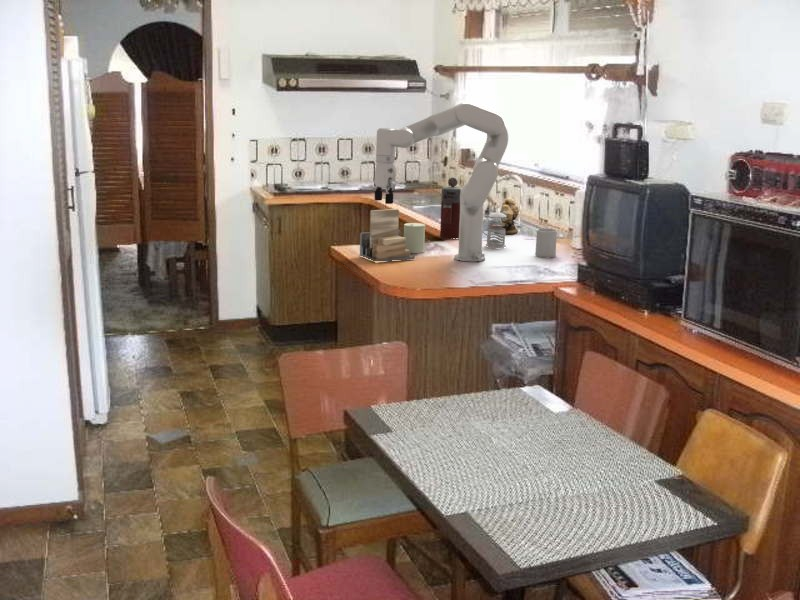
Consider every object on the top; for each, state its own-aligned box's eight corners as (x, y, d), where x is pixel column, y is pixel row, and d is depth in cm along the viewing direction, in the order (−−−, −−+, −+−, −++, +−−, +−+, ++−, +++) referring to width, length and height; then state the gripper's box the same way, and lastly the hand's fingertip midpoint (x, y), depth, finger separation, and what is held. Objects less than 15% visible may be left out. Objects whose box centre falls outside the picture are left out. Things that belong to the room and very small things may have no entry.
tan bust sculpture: (492, 228, 446) (494, 194, 442) (516, 229, 445) (518, 195, 441) (493, 234, 428) (495, 199, 424) (518, 235, 428) (520, 200, 424)
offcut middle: (405, 250, 362) (405, 244, 361) (378, 252, 356) (378, 246, 356) (398, 248, 367) (399, 242, 366) (372, 250, 361) (372, 243, 361)
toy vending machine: (439, 239, 413) (441, 178, 407) (443, 235, 424) (445, 175, 417) (458, 240, 411) (460, 179, 405) (461, 236, 422) (464, 176, 415)
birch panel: (397, 252, 370) (398, 209, 365) (371, 254, 364) (372, 211, 360) (395, 252, 371) (396, 209, 367) (369, 254, 366) (370, 210, 361)
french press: (507, 248, 393) (510, 192, 387) (481, 248, 393) (484, 191, 387) (505, 244, 402) (508, 189, 396) (480, 244, 403) (482, 188, 397)
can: (399, 251, 380) (399, 223, 378) (409, 248, 388) (409, 221, 386) (418, 254, 376) (419, 225, 373) (428, 250, 384) (429, 223, 381)
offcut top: (405, 244, 362) (405, 237, 362) (385, 246, 356) (385, 240, 356) (398, 242, 366) (398, 236, 365) (378, 244, 360) (378, 238, 360)
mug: (553, 258, 374) (555, 232, 371) (533, 256, 377) (534, 230, 374) (558, 253, 385) (560, 228, 382) (539, 251, 388) (540, 226, 385)
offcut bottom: (409, 256, 363) (409, 250, 362) (378, 258, 357) (378, 252, 356) (402, 253, 368) (402, 247, 368) (372, 256, 362) (372, 250, 361)
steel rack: (414, 260, 364) (415, 235, 361) (375, 263, 355) (375, 238, 353) (398, 253, 376) (399, 230, 373) (359, 256, 367) (360, 232, 365)
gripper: (403, 161, 353) (401, 204, 357) (383, 157, 368) (382, 198, 372) (386, 161, 349) (385, 205, 354) (367, 157, 364) (365, 199, 368)
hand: (383, 202), depth 363 cm, fingers open, 9 cm apart
